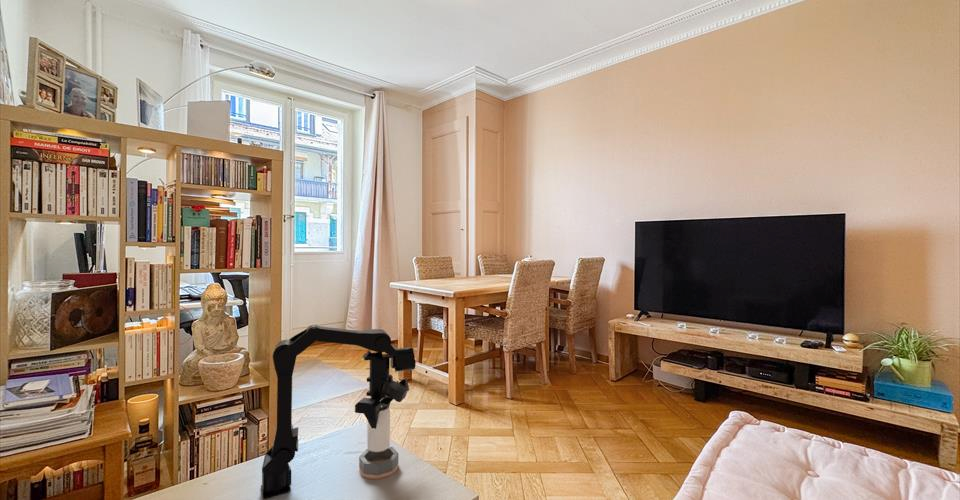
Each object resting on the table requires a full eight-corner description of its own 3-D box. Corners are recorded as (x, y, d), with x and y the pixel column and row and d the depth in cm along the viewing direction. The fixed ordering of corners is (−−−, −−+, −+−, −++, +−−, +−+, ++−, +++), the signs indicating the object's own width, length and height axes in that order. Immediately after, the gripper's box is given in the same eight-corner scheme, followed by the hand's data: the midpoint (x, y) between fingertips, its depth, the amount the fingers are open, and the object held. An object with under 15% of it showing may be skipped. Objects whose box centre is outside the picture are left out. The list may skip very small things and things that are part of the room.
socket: (366, 483, 111) (366, 469, 111) (354, 465, 121) (354, 451, 121) (404, 471, 117) (404, 457, 117) (390, 454, 127) (390, 442, 127)
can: (392, 442, 122) (393, 403, 122) (385, 453, 115) (385, 412, 115) (372, 441, 122) (372, 402, 122) (363, 452, 116) (364, 411, 116)
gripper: (392, 385, 108) (391, 443, 108) (416, 365, 126) (415, 415, 126) (354, 382, 110) (353, 439, 110) (383, 363, 129) (382, 411, 129)
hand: (378, 425), depth 119 cm, fingers closed on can, 5 cm apart
